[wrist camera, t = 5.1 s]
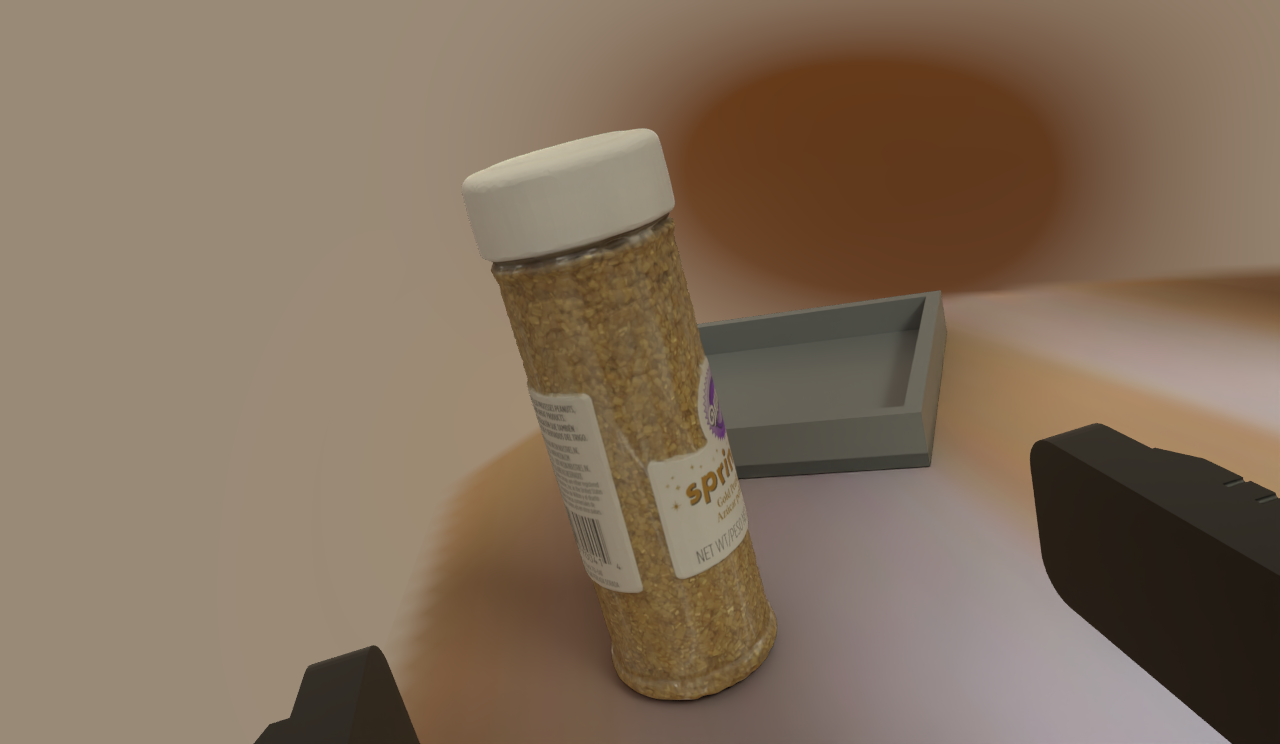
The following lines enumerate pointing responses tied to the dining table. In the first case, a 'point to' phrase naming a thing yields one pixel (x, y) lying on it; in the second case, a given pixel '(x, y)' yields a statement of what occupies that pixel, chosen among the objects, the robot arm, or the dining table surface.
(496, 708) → the dining table surface
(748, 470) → the condiment tray
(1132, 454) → the robot arm
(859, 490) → the dining table surface
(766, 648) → the sprinkles bottle
